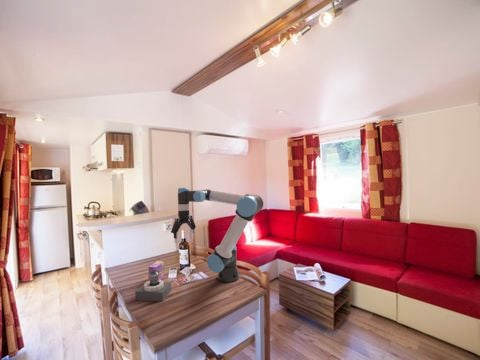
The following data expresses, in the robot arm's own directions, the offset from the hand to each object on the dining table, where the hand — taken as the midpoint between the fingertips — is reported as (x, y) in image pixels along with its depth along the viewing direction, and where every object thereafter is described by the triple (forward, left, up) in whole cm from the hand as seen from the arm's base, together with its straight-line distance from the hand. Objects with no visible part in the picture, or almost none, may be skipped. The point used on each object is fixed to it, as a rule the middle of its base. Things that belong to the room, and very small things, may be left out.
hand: (184, 240), depth 156 cm
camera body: (+11, +23, -27) cm, 37 cm away
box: (+18, +5, -27) cm, 33 cm away
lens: (+11, +23, -22) cm, 33 cm away
